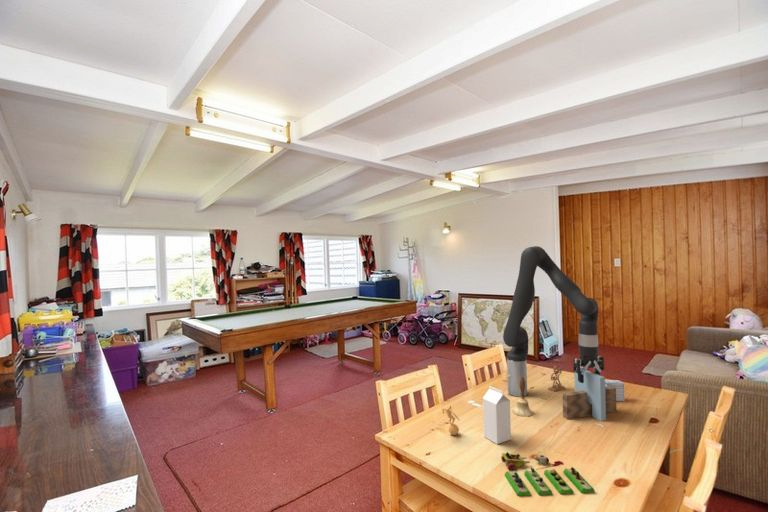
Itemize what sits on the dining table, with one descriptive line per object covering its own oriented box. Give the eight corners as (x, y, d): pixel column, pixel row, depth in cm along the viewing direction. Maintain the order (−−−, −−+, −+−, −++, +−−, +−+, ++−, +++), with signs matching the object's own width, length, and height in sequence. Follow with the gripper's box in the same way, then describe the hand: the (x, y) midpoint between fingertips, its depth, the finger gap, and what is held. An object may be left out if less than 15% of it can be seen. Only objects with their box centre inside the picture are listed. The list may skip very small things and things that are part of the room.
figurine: (465, 436, 143) (464, 405, 143) (455, 441, 139) (454, 410, 139) (449, 429, 150) (448, 399, 150) (439, 433, 146) (438, 403, 146)
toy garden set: (517, 498, 107) (517, 482, 107) (495, 461, 126) (494, 448, 126) (594, 494, 108) (594, 478, 108) (560, 458, 127) (560, 445, 127)
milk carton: (497, 444, 137) (495, 393, 137) (483, 436, 143) (482, 387, 143) (511, 439, 140) (509, 389, 140) (497, 432, 146) (496, 384, 146)
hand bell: (537, 414, 161) (536, 378, 161) (521, 418, 158) (520, 380, 158) (523, 407, 169) (522, 372, 169) (508, 410, 166) (508, 375, 166)
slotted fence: (567, 419, 156) (566, 395, 156) (563, 416, 158) (562, 393, 158) (616, 410, 163) (615, 388, 163) (611, 408, 165) (610, 386, 165)
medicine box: (619, 398, 177) (619, 379, 177) (624, 401, 172) (624, 383, 172) (602, 397, 178) (601, 379, 178) (607, 401, 173) (606, 383, 173)
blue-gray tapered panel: (606, 420, 154) (604, 377, 154) (601, 421, 153) (600, 377, 153) (579, 407, 167) (578, 367, 167) (575, 407, 167) (574, 368, 167)
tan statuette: (554, 391, 187) (553, 368, 187) (547, 389, 190) (547, 366, 190) (565, 388, 191) (564, 365, 191) (558, 386, 194) (558, 363, 194)
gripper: (581, 347, 155) (582, 386, 155) (608, 344, 159) (609, 382, 159) (568, 343, 162) (569, 380, 162) (594, 340, 166) (595, 376, 166)
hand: (589, 381), depth 160 cm, fingers open, 8 cm apart
